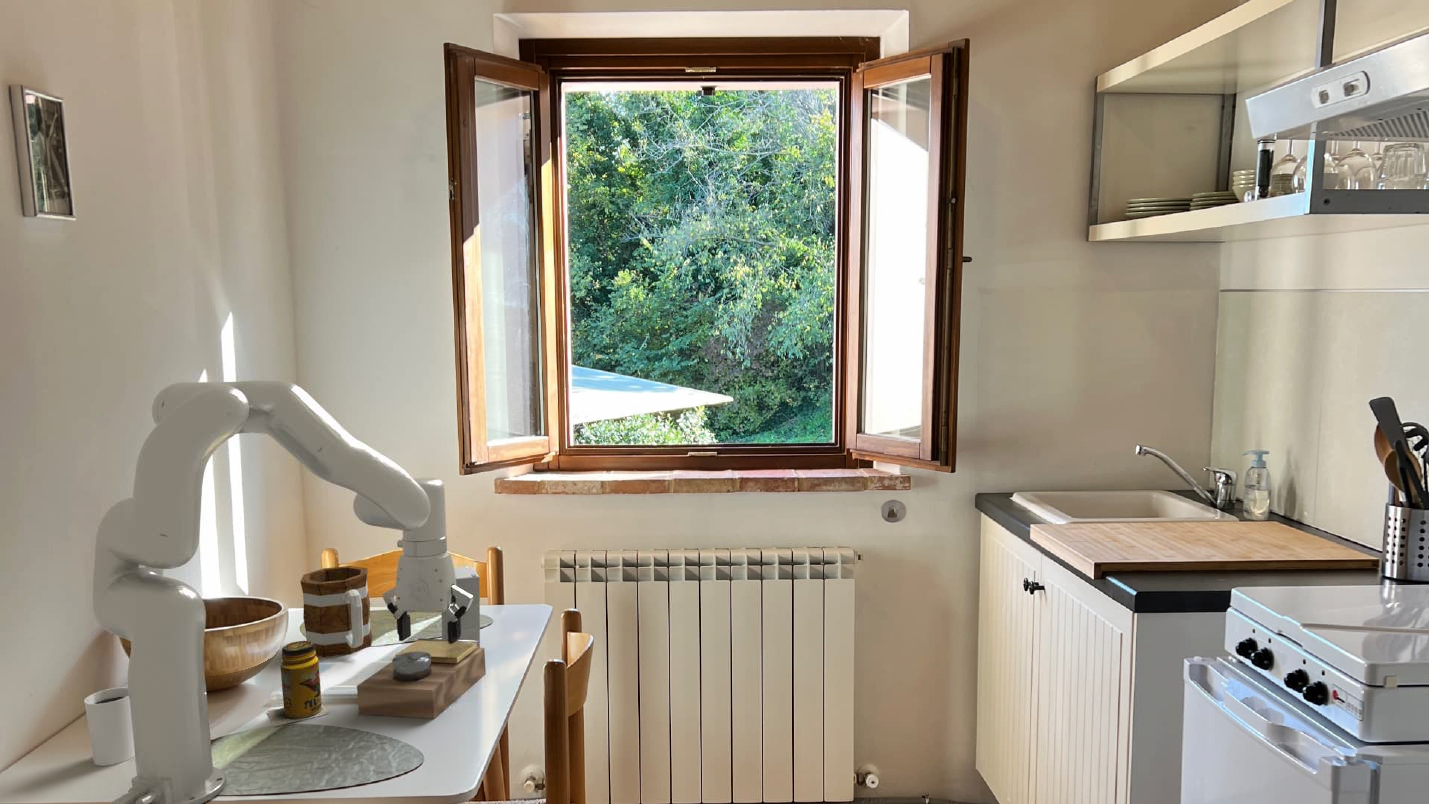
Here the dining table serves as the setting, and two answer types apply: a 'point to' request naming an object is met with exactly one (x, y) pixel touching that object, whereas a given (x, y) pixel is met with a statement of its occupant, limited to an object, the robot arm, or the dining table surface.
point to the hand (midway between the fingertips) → (429, 640)
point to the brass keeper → (442, 649)
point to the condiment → (299, 684)
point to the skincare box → (471, 619)
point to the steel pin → (411, 666)
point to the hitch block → (420, 689)
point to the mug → (337, 610)
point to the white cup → (110, 726)
